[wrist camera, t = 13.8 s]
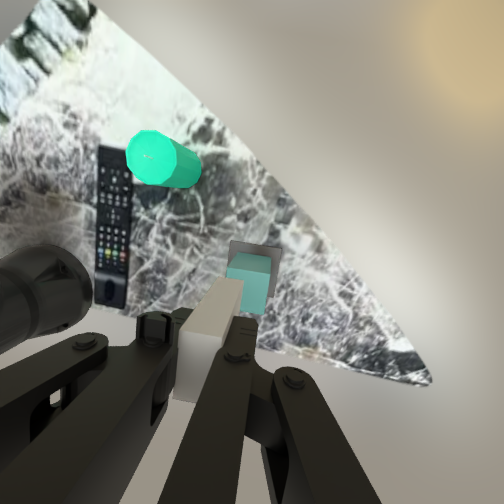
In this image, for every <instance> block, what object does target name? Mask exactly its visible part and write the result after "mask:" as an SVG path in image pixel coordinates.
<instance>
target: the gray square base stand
mask: <svg viewBox="0 0 504 504" xmlns="http://www.w3.org/2000/svg"><path fill="white" fill-rule="evenodd" d="M281 251H282V248H276V247H270V246H264V245H257V244H251V243H245V242H238V241H232V240H231V241H230V249H229V257H228V265H229V264H230V263H231V261H232V260H233V258H234V257H235V256H236V254H237V253H238V252H241V253H248V254H254V255H260V256H266V257H271V273H270V280H269V286H268V292H267V297H272V298H274V292H275V286H276V280H277V274H278V268H279V262H280V256H281ZM228 265H227V267H228ZM226 273H227V272H226Z"/></svg>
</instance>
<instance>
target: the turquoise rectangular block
mask: <svg viewBox="0 0 504 504" xmlns="http://www.w3.org/2000/svg"><path fill="white" fill-rule="evenodd" d="M270 273H271V257H266V256H260V255H254V254H248V253H241V252H238V253H237V254H236V256H235V257H234V258H233V260H232V261H231V263H230V264H229V265H228V267H227V273H226V278H232V279H238V280H244V285H243V291H242V298H241V305H240V311H244V312H250V313H255V314H261V315H264V310H265V304H266V298H267V292H268V286H269V280H270Z"/></svg>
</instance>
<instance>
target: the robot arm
mask: <svg viewBox="0 0 504 504" xmlns="http://www.w3.org/2000/svg"><path fill="white" fill-rule="evenodd" d="M243 285H244V280H238V279H232V278H226V277H220V276H219V277H218V278H217V279H216V281H215V282H214V283H213V285H212V286H211V288H210V289H209V290H208V292H207V293H206V294H205V296H204V297H203V298H202V300H201V301H200V302H199V304H198V305H197V307H196V308H195V309H188V308H183V307H181V308H179V309H177V310H174V311H173V312H172V313H171V314H170V313H166V312H159V311H153V312H146V313H143V314H141V315H139V316H137V324H136V339H135V340H134V341H133V342H132V343H131V344H130V345H129V346H108V342H109V341H108V338H107V337H106V336H105V335H103V334H99V333H94V332H92V333H91V332H87V333H84V334H78V335H75V336H72V337H70V338H68V339H66V340H63V341H61V342H59V343H57V344H55V345H53V346H50V347H48V348H46V349H44V350H42V351H40V352H38V353H36V354H33V355H31V356H29V357H27V358H25V359H23V360H21V361H19V362H17V363H15V364H12V365H10V366H8V367H6V368H4V369H1V370H0V504H119V502H120V500H121V498H122V496H123V494H124V492H125V490H126V488H127V486H128V484H129V482H130V480H131V479H132V476H133V475H134V473H135V471H136V469H137V467H138V465H139V463H140V461H141V459H142V457H143V455H144V453H145V451H146V449H147V447H148V445H149V443H150V441H151V439H152V438H153V436H154V434H155V432H156V430H157V428H158V426H159V424H160V422H161V420H162V418H163V416H164V414H165V412H166V410H167V406H168V398H169V394H170V392H171V391H172V389H173V387H174V390H173V399H176V400H181V401H186V402H192V403H196V406H195V408H194V411H193V414H192V416H191V419H190V421H189V424H188V426H187V429H186V431H185V434H184V437H183V439H182V442H181V444H180V447H179V449H178V452H177V455H176V457H175V460H174V462H173V465H172V468H171V470H170V472H169V475H168V478H167V480H166V483H165V485H164V488H163V491H162V493H161V495H160V498H159V501H158V503H157V504H235V501H236V494H237V486H238V478H239V471H240V464H241V463H240V462H241V455H242V448H243V441H244V435H245V436H247V437H249V438H251V439H253V440H254V441H256V442H258V443H260V444H261V453H262V459H263V463H264V469H265V474H266V479H267V484H268V490H269V495H270V500H271V504H382V503H381V501H380V499H379V498H378V496H377V494H376V492H375V490H374V488H373V487H372V485H371V483H370V481H369V479H368V477H367V476H366V474H365V472H364V470H363V468H362V467H361V465H360V463H359V461H358V459H357V457H356V456H355V454H354V452H353V450H352V448H351V446H350V445H349V443H348V441H347V439H346V437H345V436H344V434H343V432H342V430H341V428H340V426H339V425H338V423H337V421H336V419H335V417H334V416H333V414H332V412H331V410H330V408H329V406H328V405H327V403H326V401H325V399H324V397H323V395H322V394H321V392H320V390H319V388H318V386H317V385H316V383H315V381H314V380H313V378H312V377H311V376H310V375H309V374H308V373H306V372H305V371H303V370H301V369H298V368H294V367H281V368H279V369H277V370H276V371H275V373H274V374H273V373H270V372H268V371H267V370H265V369H263V368H262V367H260V366H259V365H258V364H257V363H256V361H255V358H254V354H255V347H256V339H257V331H258V324H257V322H256V320H255V319H251V318H246V317H240V316H239V312H240V305H241V298H242V291H243ZM91 301H92V286H91V282H90V279H89V276H88V274H87V272H86V270H85V269H84V267H83V266H82V264H81V263H80V262H79V261H78V260H77V259H76V258H75V257H74V256H73V255H72V254H70V253H69V252H67V251H66V250H64V249H62V248H59V247H57V246H53V245H47V244H40V245H34V246H28V247H24V248H21V249H18V250H16V251H14V252H12V253H10V254H9V255H7V256H5V257H4V258H2V259H0V355H1V354H2V353H4V352H6V351H8V350H9V349H11V348H13V347H15V346H16V345H18V344H20V343H22V342H23V341H25V340H27V339H31V338H36V337H40V336H45V335H50V334H54V333H58V332H62V331H64V330H66V329H68V328H70V327H71V326H73V325H75V324H76V323H78V322H79V321H80V320H82V319H83V317H84V316H85V315H86V314H87V312H88V310H89V308H90V305H91ZM59 389H60V400H59V401H58V402H56V403H54V404H50V395H51V394H53V393H54V392H56V391H58V390H59Z"/></svg>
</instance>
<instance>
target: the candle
mask: <svg viewBox="0 0 504 504" xmlns="http://www.w3.org/2000/svg"><path fill="white" fill-rule="evenodd" d="M126 158H127V166H128V167H129V168H130V170H131V171H132V172H133V174H134V175H135V176H136V178H138V179H139V180H141V181H142V182H144V183H146V184H148V185H157V186H165V187H173V188H190V187H191V186H193V185H194V184H196V183H197V182H198V180H199V178H200V175H201V162H200V160H199V158H198V157H197V155H196V154H195V153H194V152H192V151H191V150H189V149H187V148H185V147H184V146H182V145H180V144H179V143H177V142H175V141H173V140H172V139H170V138H168V137H167V136H165V135H163V134H161V133H160V132H158V131H156V130H141V131H140V132H139V133H137V134H136V135H135V136H134V137H133V138H131V140H130V142H129V145H128V147H127V149H126Z"/></svg>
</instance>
